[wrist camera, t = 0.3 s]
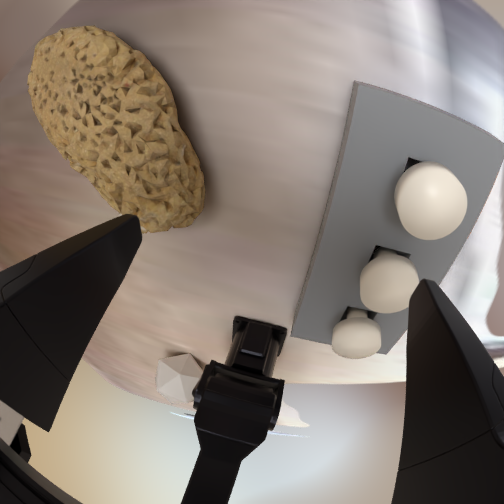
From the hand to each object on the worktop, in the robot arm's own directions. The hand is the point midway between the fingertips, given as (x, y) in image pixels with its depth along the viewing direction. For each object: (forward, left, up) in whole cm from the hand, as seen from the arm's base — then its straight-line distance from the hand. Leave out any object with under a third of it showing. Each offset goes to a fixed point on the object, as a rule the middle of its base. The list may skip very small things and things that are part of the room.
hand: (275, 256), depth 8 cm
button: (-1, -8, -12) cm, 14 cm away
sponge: (0, +15, -14) cm, 21 cm away
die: (-40, +12, -14) cm, 44 cm away
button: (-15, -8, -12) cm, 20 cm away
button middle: (-8, -8, -12) cm, 16 cm away
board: (-8, -8, -14) cm, 18 cm away
